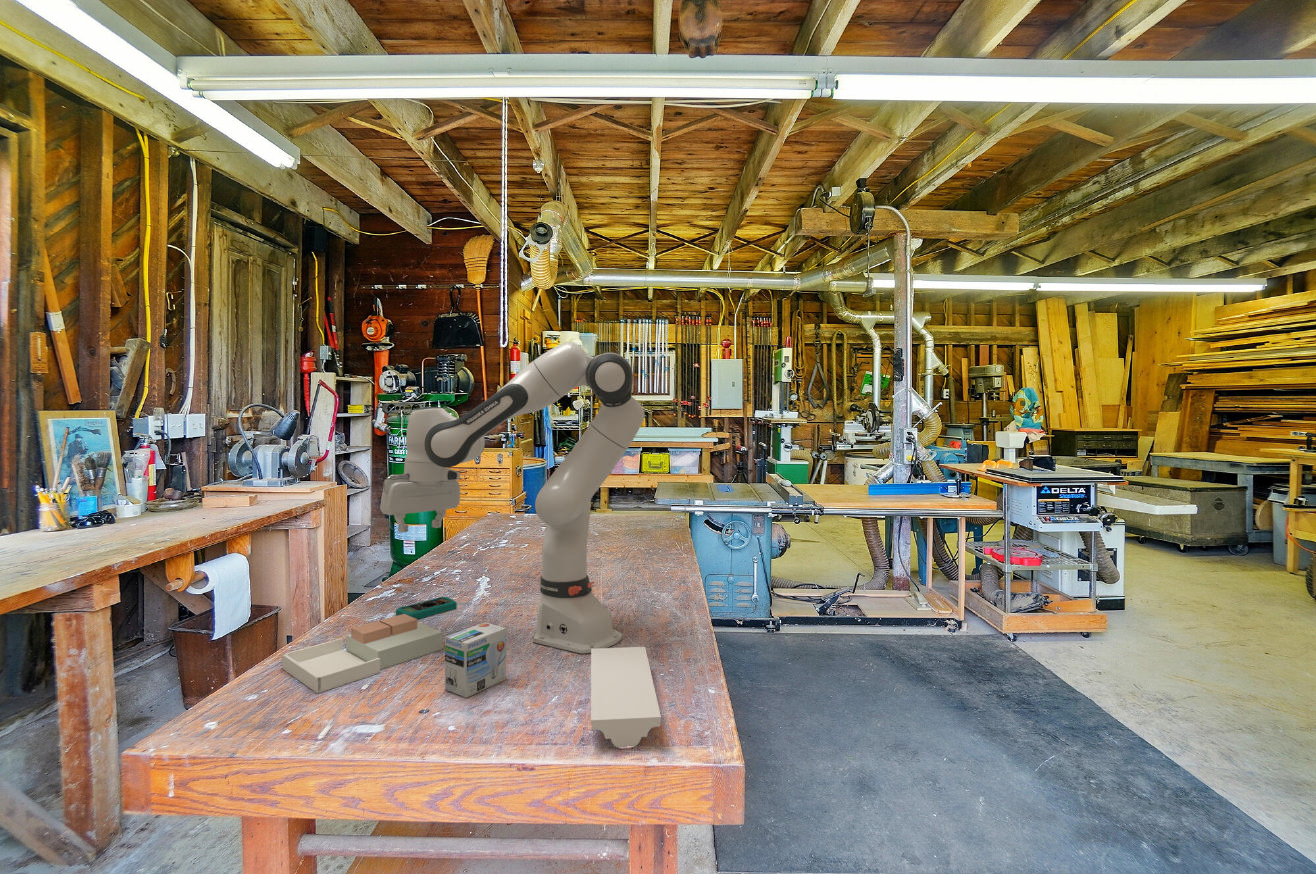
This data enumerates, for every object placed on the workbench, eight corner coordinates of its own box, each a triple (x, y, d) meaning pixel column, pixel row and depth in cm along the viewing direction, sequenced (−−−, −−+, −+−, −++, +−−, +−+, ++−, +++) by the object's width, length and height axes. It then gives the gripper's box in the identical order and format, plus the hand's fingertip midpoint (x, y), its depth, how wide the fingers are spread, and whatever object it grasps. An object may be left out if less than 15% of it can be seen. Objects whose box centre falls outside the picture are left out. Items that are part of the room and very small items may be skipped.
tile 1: (390, 636, 135) (390, 626, 135) (363, 644, 131) (363, 634, 131) (377, 630, 139) (377, 620, 139) (351, 637, 134) (351, 627, 134)
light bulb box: (466, 699, 114) (466, 643, 114) (443, 690, 118) (443, 636, 117) (507, 678, 123) (507, 627, 123) (485, 671, 127) (485, 621, 127)
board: (442, 649, 138) (442, 632, 138) (378, 670, 127) (378, 651, 127) (408, 633, 148) (408, 617, 148) (346, 652, 136) (346, 634, 136)
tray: (380, 672, 125) (380, 658, 125) (317, 693, 116) (317, 678, 116) (341, 650, 137) (341, 638, 137) (282, 668, 127) (281, 654, 127)
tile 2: (417, 628, 140) (417, 619, 140) (392, 635, 136) (392, 626, 136) (404, 622, 144) (404, 613, 144) (379, 629, 139) (379, 620, 139)
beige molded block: (590, 752, 97) (591, 720, 97) (591, 673, 127) (591, 648, 127) (660, 748, 98) (661, 716, 98) (644, 670, 128) (644, 646, 128)
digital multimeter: (459, 609, 168) (458, 599, 168) (409, 624, 156) (408, 612, 156) (444, 604, 172) (444, 594, 172) (394, 618, 160) (394, 607, 160)
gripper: (393, 476, 134) (389, 537, 135) (465, 473, 152) (461, 526, 152) (376, 473, 138) (372, 532, 138) (448, 470, 155) (445, 523, 156)
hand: (420, 529), depth 145 cm, fingers open, 8 cm apart
